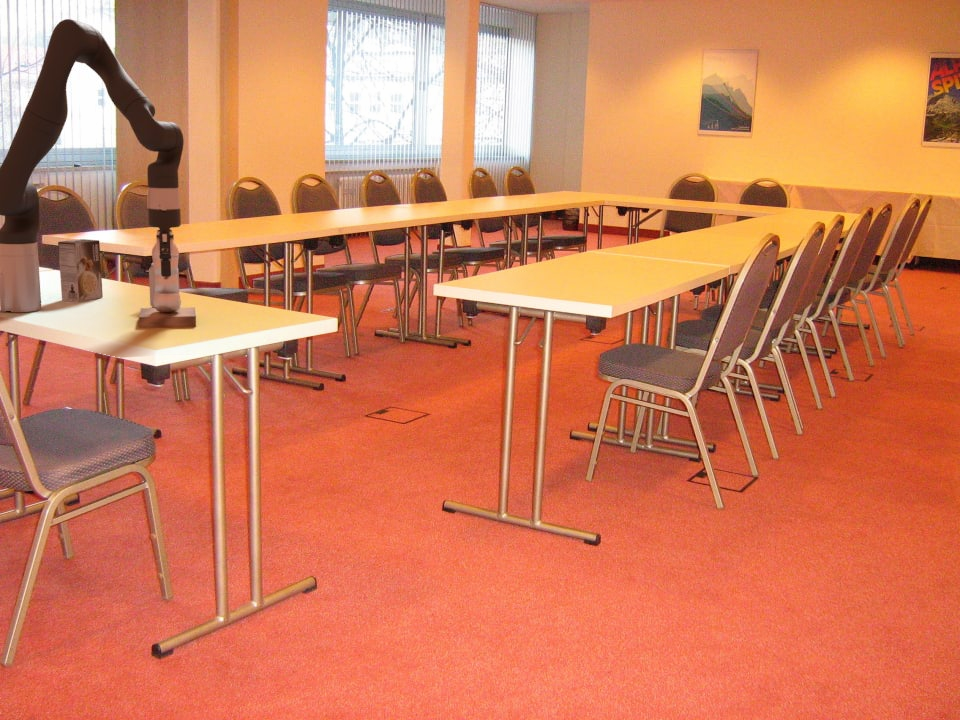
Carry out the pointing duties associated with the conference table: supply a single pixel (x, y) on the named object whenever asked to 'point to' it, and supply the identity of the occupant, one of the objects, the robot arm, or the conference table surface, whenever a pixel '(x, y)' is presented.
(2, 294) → the robot arm
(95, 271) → the coffee box
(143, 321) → the walnut block
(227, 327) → the conference table surface
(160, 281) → the plastic bottle
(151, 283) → the can
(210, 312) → the conference table surface
